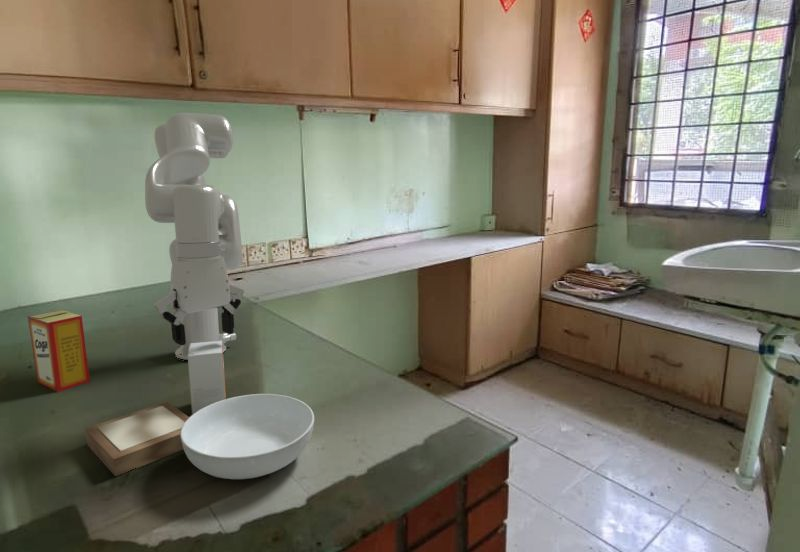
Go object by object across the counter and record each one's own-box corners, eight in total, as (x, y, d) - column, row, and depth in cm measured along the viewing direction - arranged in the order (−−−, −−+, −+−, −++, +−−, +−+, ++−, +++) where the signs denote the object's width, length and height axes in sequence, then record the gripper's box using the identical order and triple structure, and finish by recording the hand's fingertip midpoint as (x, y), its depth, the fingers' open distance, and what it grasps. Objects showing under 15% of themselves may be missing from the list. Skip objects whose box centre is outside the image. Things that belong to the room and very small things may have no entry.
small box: (226, 415, 94) (222, 352, 92) (191, 420, 92) (186, 356, 89) (226, 398, 102) (222, 339, 99) (194, 402, 99) (189, 342, 97)
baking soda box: (89, 381, 109) (81, 314, 106) (57, 392, 104) (48, 321, 101) (68, 373, 114) (60, 308, 111) (37, 382, 109) (27, 314, 106)
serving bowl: (182, 514, 66) (178, 469, 65) (184, 440, 85) (181, 404, 84) (329, 479, 74) (328, 438, 73) (300, 419, 93) (299, 385, 92)
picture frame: (168, 415, 94) (167, 400, 93) (202, 441, 84) (201, 424, 84) (86, 444, 83) (84, 427, 83) (115, 476, 74) (113, 458, 74)
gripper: (230, 246, 99) (235, 325, 102) (142, 253, 87) (150, 344, 89) (250, 248, 94) (254, 332, 97) (159, 257, 82) (168, 353, 84)
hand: (205, 338), depth 93 cm, fingers open, 9 cm apart
